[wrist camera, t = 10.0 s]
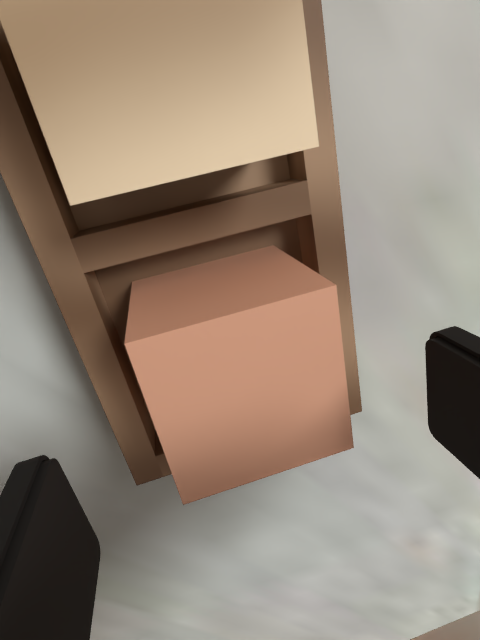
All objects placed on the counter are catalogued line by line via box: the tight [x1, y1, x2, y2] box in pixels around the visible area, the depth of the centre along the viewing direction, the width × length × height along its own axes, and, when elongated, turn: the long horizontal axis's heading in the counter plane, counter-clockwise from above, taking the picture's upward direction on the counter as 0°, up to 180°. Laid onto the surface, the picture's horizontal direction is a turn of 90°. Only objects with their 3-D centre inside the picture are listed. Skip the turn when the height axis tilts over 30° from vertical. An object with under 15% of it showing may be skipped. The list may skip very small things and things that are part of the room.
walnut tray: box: [0, 0, 362, 485], centre depth 9 cm, size 25×9×6 cm, turn 12°
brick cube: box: [124, 245, 354, 505], centre depth 12 cm, size 5×5×5 cm
